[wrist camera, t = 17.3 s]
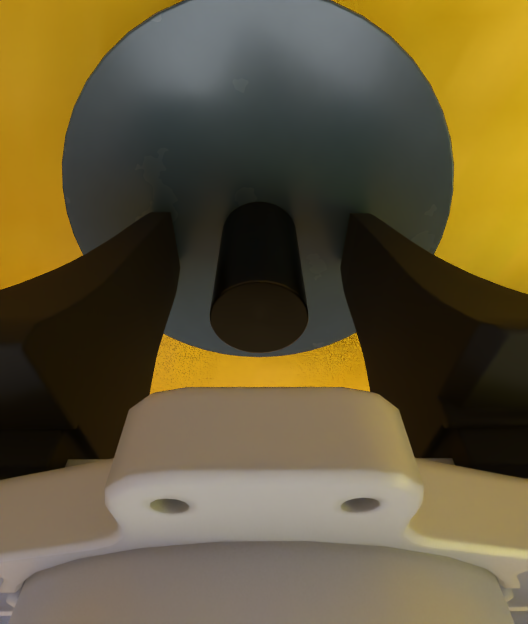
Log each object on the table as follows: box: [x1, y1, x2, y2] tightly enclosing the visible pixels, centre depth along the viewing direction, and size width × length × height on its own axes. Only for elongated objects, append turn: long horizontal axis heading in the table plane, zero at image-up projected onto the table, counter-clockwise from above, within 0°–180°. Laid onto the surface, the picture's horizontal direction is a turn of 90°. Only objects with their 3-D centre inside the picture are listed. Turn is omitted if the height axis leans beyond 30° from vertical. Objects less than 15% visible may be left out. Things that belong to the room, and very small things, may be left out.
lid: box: [62, 0, 454, 357], centre depth 11 cm, size 12×12×5 cm
